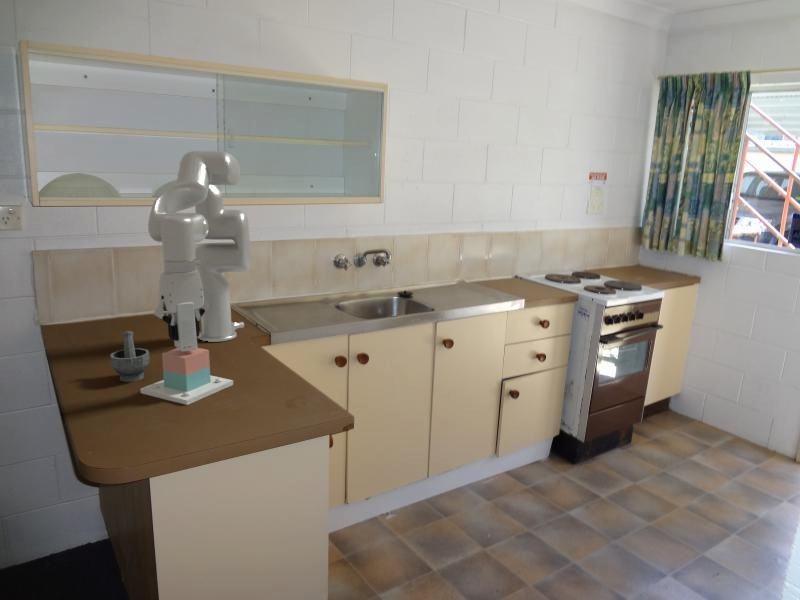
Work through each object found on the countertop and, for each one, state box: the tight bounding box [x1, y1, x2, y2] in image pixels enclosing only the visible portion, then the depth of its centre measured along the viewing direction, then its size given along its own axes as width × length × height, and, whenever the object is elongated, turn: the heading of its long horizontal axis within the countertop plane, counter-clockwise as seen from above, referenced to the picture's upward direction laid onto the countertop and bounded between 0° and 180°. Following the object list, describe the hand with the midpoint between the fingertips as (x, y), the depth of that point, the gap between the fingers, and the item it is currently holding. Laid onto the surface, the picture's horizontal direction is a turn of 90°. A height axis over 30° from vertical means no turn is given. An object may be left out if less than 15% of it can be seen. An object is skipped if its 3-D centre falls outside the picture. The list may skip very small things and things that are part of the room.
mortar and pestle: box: [110, 330, 150, 383], centre depth 164 cm, size 11×9×12 cm
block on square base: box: [139, 347, 234, 406], centre depth 156 cm, size 16×16×10 cm
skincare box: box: [173, 302, 198, 351], centre depth 154 cm, size 6×4×12 cm
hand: (184, 336), depth 154 cm, fingers closed on skincare box, 4 cm apart
